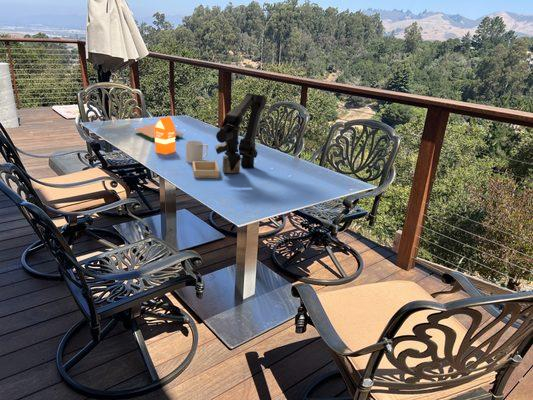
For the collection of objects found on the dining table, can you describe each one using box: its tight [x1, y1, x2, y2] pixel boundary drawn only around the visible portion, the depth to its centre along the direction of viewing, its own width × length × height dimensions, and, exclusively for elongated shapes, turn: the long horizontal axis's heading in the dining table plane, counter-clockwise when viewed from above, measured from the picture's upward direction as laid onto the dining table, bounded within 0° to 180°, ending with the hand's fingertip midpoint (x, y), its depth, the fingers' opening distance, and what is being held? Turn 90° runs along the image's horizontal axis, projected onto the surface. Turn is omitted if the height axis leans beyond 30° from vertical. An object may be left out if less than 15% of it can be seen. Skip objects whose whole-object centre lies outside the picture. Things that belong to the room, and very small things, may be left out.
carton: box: [192, 160, 221, 179], centre depth 195 cm, size 12×19×5 cm, turn 13°
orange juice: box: [154, 116, 176, 155], centre depth 223 cm, size 8×9×20 cm
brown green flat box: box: [134, 122, 185, 141], centre depth 258 cm, size 23×33×8 cm
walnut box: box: [222, 155, 241, 174], centre depth 197 cm, size 8×5×7 cm, turn 103°
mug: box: [185, 140, 209, 164], centre depth 211 cm, size 12×9×11 cm
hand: (231, 168), depth 198 cm, fingers closed on walnut box, 5 cm apart
